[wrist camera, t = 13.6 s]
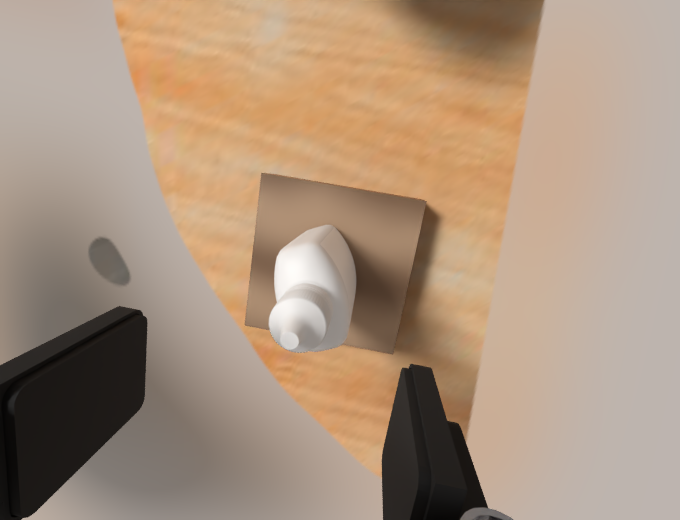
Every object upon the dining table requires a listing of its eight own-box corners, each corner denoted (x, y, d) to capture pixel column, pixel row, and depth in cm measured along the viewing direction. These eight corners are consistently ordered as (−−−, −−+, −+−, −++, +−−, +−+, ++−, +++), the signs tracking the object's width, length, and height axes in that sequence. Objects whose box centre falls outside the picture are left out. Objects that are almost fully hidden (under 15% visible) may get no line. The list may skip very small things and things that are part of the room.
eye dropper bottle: (370, 233, 24) (367, 283, 12) (350, 310, 25) (330, 422, 13) (307, 217, 24) (244, 252, 12) (291, 294, 25) (219, 392, 14)
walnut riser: (272, 173, 26) (261, 173, 24) (421, 199, 25) (426, 201, 23) (255, 313, 29) (244, 325, 26) (391, 339, 28) (393, 354, 25)
